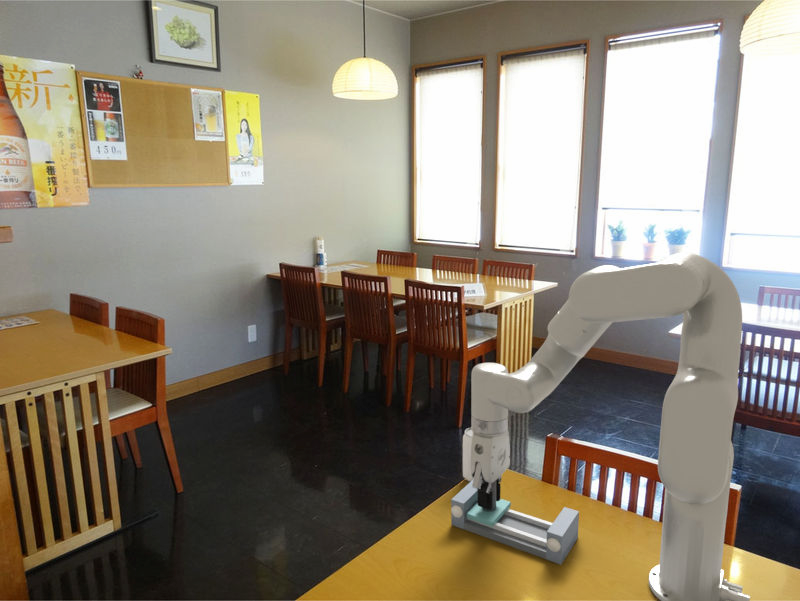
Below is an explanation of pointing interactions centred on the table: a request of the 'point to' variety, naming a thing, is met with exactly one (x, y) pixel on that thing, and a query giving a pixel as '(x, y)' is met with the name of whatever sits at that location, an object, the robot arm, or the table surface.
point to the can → (467, 454)
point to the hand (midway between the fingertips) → (489, 502)
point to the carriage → (489, 515)
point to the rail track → (520, 528)
